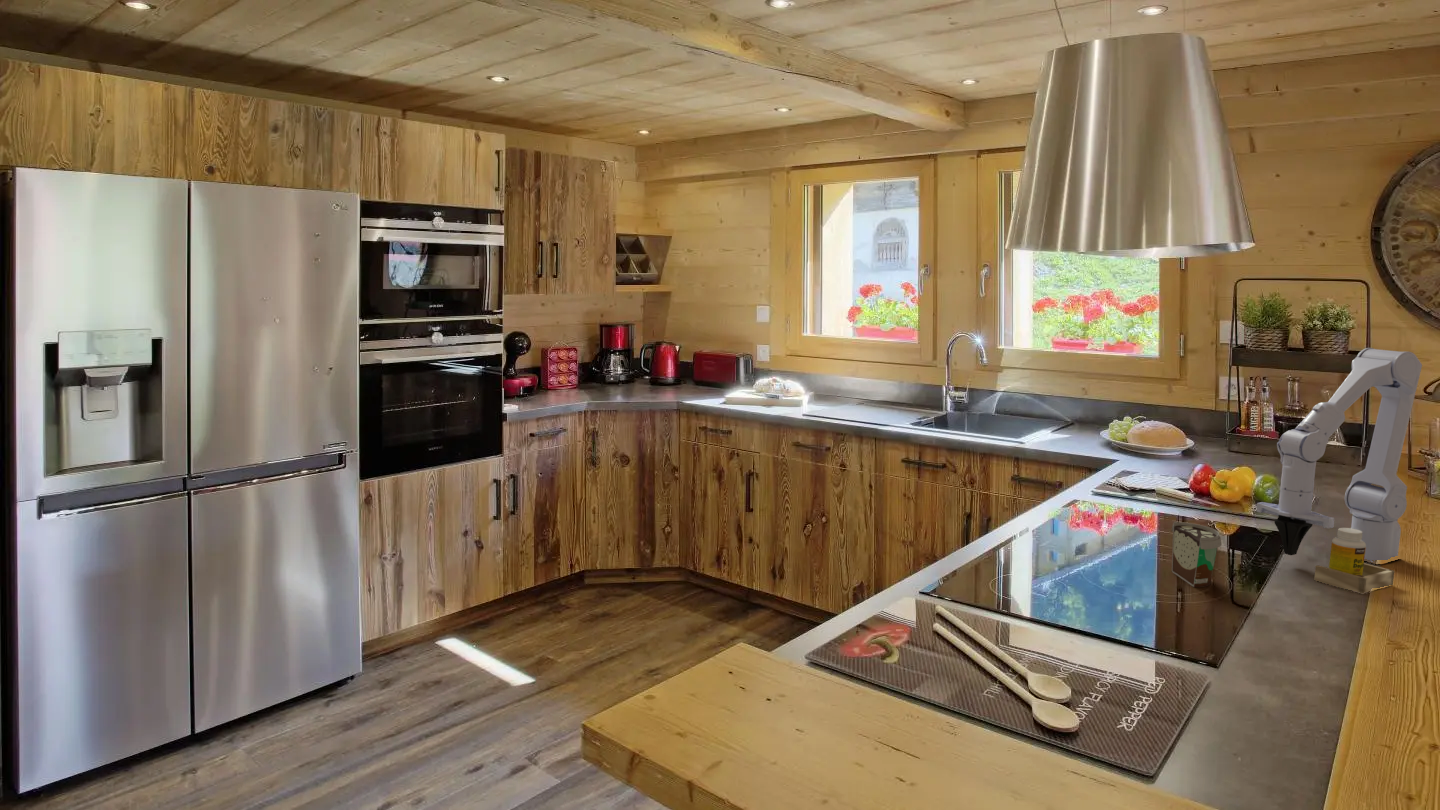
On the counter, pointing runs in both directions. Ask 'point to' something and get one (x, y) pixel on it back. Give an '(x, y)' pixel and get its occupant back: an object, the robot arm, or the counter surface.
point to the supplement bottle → (1348, 551)
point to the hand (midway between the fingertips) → (1290, 553)
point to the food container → (1194, 552)
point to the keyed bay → (1356, 578)
